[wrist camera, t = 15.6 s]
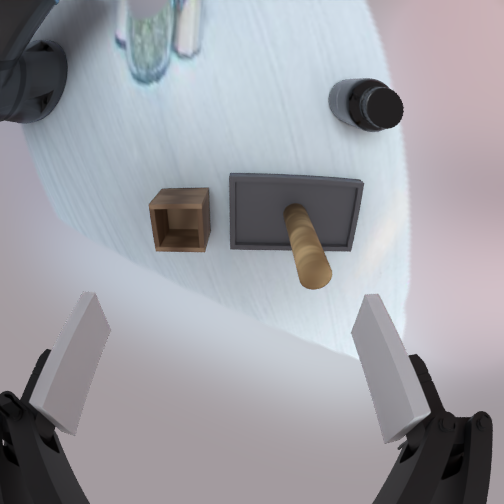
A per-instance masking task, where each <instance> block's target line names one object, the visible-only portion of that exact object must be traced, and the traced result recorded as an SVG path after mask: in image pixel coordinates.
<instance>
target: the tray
mask: <svg viewBox="0 0 504 504" xmlns="http://www.w3.org/2000/svg"><path fill="white" fill-rule="evenodd" d="M363 187H364V183H363V182H362V181H361V180H358V179H348V178H336V177H322V176H307V175H287V174H257V173H230V176H229V192H230V249H240V250H292V248H291V244H290V240H289V236H288V232H287V228H286V224H285V220H284V217H283V212H284V210H285V208H286V207H287V206H288V205H290V204H293V203H298V204H301V205H302V206H303V207H304V208H305V209H306V212H307V214H308V216H309V218H310V221H311V223H312V225H313V227H314V230H315V232H316V234H317V237H318V239H319V241H320V244H321V246H322V248H323V251H351V249H352V244H353V240H354V235H355V230H356V225H357V220H358V215H359V210H360V204H361V199H362V193H363Z"/></svg>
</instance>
